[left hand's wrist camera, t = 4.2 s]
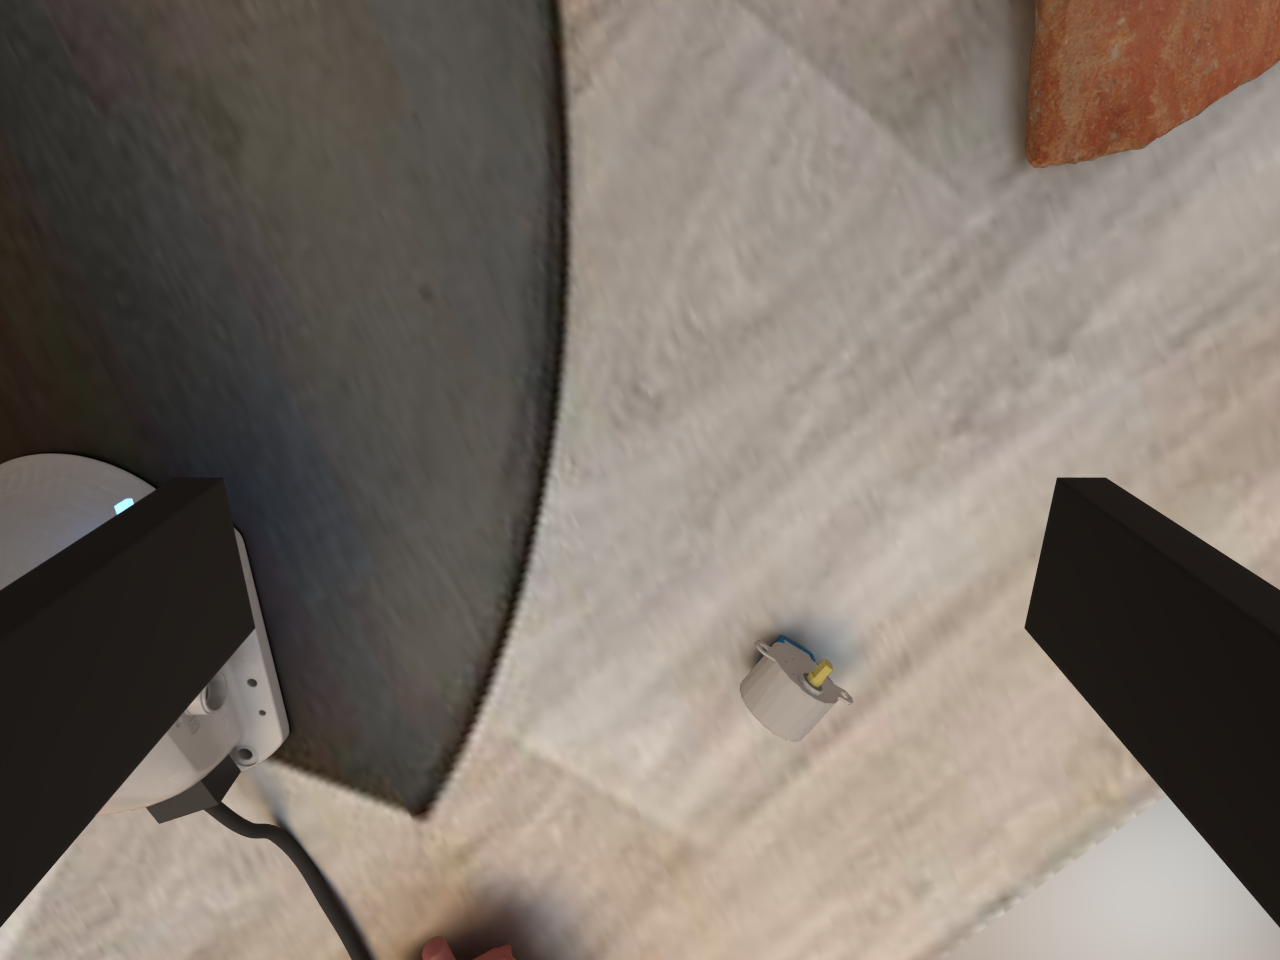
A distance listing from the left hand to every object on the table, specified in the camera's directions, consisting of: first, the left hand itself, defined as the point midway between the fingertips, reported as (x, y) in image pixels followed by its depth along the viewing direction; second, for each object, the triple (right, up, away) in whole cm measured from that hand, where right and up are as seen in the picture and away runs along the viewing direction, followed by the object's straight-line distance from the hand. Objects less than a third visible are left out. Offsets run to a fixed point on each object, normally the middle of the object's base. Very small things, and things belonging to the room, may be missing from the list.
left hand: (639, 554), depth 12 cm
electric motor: (+9, -9, +34) cm, 36 cm away
